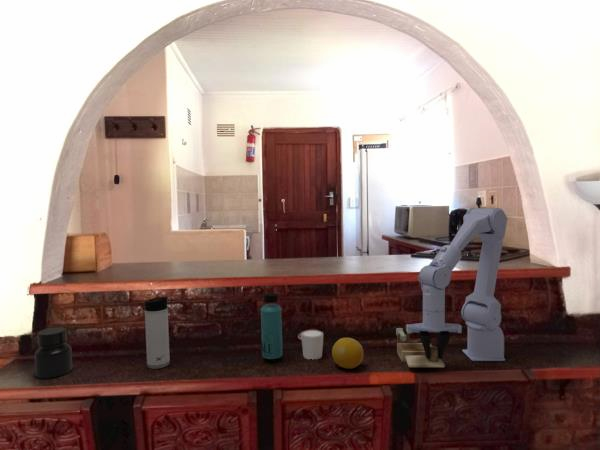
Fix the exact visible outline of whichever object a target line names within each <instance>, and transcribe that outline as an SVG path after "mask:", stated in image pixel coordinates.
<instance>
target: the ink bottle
mask: <svg viewBox="0 0 600 450" xmlns="http://www.w3.org/2000/svg"><path fill="white" fill-rule="evenodd" d="M67 336H68V335H67V328H66V327H60V326H58V327H55V326H54V327H49V328H46V329H45V328H44V329H42V330H40V331H38V332H37V341H38V343H37V344H38V349H36V350H35V353H34V365H35V366H34V368H35V376H36V378H39V379H51V378H57V377H62V376H64V375H67V374H68V373H69V372H70V371H72V369H73V351H72V346H71V345H70V344H69V343H67V341H68V339H67Z"/></svg>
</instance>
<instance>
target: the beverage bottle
mask: <svg viewBox="0 0 600 450" xmlns="http://www.w3.org/2000/svg"><path fill="white" fill-rule="evenodd" d="M278 301H279V300H278V294H277V293H274V292H268V293H265V294H264V295H263V302H264V303H266V304H263V306H262V307H261V308H260V331H261V333H260V334H261V341H260V345H261V347H260V349H261V352H260V354H261V355H262V357H263V358H264V359H267V360H275V359H280V358H281V357H282V356H283V353H284V348H283V346H284V344H283V331H282V330H283V327H282V326H283V325H282V323H283V322H282V321H283V320H282V307H281V306H280V305H279V304H277V302H278Z"/></svg>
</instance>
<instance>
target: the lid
mask: <svg viewBox="0 0 600 450" xmlns="http://www.w3.org/2000/svg"><path fill="white" fill-rule="evenodd" d="M405 358H406V361H407V362H406V364H407V366H408V368H445V367H446V365H445V363H444V361H443V359H439V358H438V347H437V345H436V346H434V345H432V346H430V359H427V358H426V357H425V355H405Z"/></svg>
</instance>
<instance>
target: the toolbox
mask: <svg viewBox="0 0 600 450" xmlns="http://www.w3.org/2000/svg"><path fill="white" fill-rule="evenodd" d="M410 334H411V333H407V332H406V334H405V335H406V341H405V342H406V343H405V342H403V343H402V342H401V339H400V333H397V335H396V338H397V339H396V353H397V355H398V357H399V358H400V360H401V363H407V361H406V358H405V355H425V351H424V347H423V344H422V342H416V343H415V342H413V343H412V342H410V341H411V339H410V338H411V337H410ZM430 346H433V345H432V343H430Z"/></svg>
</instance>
